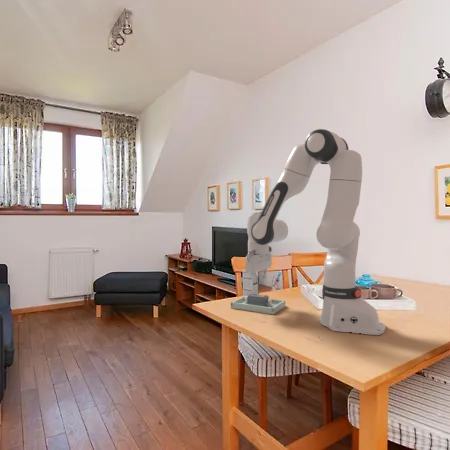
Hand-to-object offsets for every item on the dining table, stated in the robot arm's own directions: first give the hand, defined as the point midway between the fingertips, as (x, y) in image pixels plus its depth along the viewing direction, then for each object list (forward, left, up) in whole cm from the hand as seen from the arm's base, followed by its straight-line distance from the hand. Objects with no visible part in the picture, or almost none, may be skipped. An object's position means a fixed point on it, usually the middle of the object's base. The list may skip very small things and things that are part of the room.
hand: (259, 280), depth 145 cm
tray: (+1, 0, -12) cm, 12 cm away
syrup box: (+10, -11, -12) cm, 19 cm away
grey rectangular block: (+1, 0, -11) cm, 11 cm away
